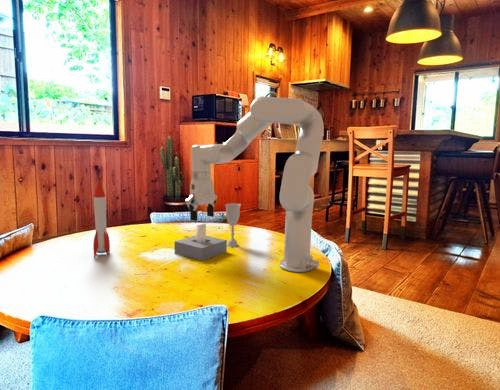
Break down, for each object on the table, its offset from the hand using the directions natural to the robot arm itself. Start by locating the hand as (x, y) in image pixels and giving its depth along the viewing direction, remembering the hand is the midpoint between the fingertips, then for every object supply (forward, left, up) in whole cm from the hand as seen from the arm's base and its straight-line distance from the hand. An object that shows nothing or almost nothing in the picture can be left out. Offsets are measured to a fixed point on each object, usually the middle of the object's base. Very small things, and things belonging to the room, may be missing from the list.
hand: (202, 218), depth 150 cm
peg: (+1, 0, -15) cm, 15 cm away
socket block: (+1, 0, -15) cm, 14 cm away
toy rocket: (+29, +27, -15) cm, 42 cm away
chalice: (-2, -17, -15) cm, 22 cm away
